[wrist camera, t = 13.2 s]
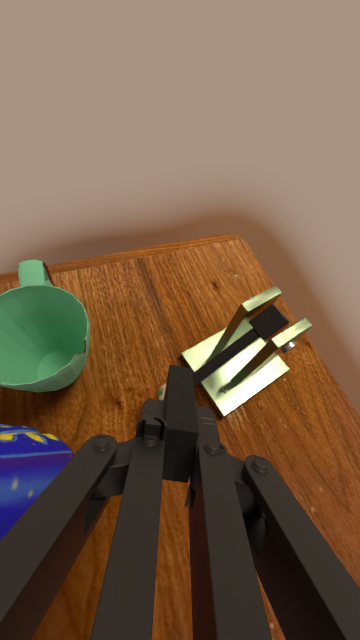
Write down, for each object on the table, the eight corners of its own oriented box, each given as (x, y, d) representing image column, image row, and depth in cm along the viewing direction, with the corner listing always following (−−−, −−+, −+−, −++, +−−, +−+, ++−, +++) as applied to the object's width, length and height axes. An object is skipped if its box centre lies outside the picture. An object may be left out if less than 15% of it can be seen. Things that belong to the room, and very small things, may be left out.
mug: (109, 398, 31) (97, 368, 22) (14, 423, 28) (-41, 401, 20) (90, 295, 37) (75, 241, 28) (12, 308, 35) (-31, 253, 26)
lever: (173, 420, 28) (160, 426, 25) (156, 391, 30) (141, 393, 26) (293, 332, 26) (295, 326, 23) (268, 305, 27) (267, 295, 24)
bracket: (221, 419, 31) (266, 389, 20) (179, 356, 34) (198, 301, 23) (285, 372, 35) (352, 326, 24) (243, 320, 38) (284, 258, 27)
